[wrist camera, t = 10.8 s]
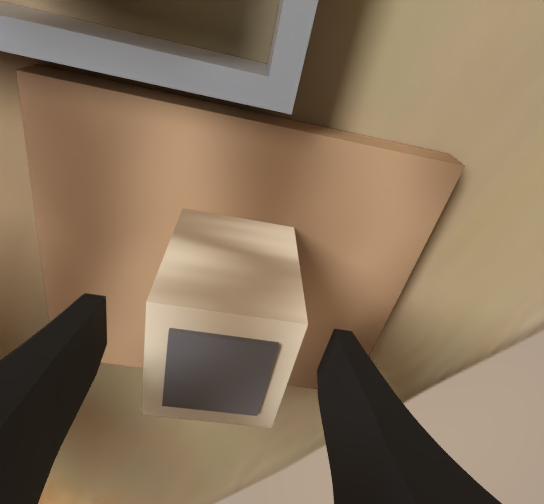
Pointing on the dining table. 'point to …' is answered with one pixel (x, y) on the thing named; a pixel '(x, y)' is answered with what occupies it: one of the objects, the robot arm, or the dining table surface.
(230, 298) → the birch block
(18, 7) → the bin
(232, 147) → the walnut board
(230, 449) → the dining table surface
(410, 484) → the robot arm
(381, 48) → the dining table surface
